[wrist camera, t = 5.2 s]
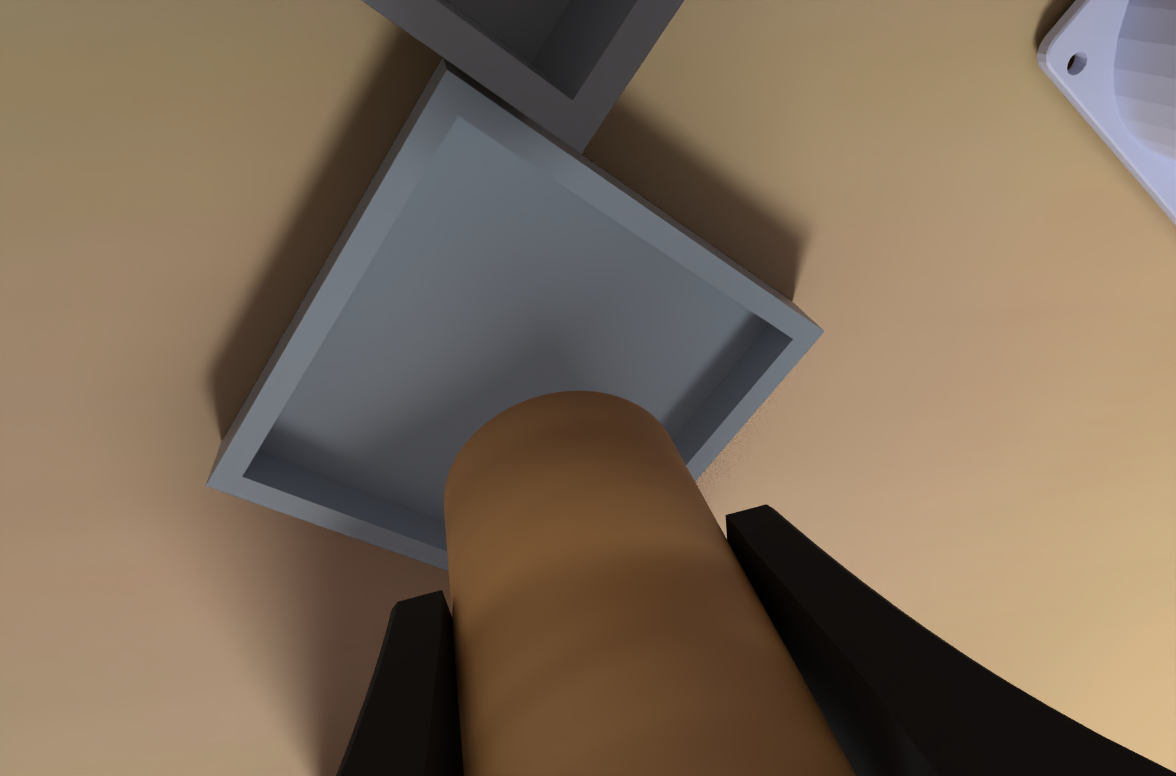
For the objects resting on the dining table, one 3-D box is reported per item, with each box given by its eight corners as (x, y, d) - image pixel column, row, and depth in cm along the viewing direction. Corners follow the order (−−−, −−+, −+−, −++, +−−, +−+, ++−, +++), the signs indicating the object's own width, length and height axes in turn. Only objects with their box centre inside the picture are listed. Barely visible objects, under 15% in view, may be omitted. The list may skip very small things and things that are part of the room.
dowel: (725, 455, 13) (1002, 887, 7) (587, 610, 14) (722, 1092, 8) (537, 346, 11) (693, 804, 5) (396, 534, 12) (390, 1085, 6)
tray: (793, 302, 21) (824, 331, 19) (567, 574, 24) (578, 617, 23) (442, 57, 16) (447, 69, 14) (220, 442, 19) (205, 485, 18)
